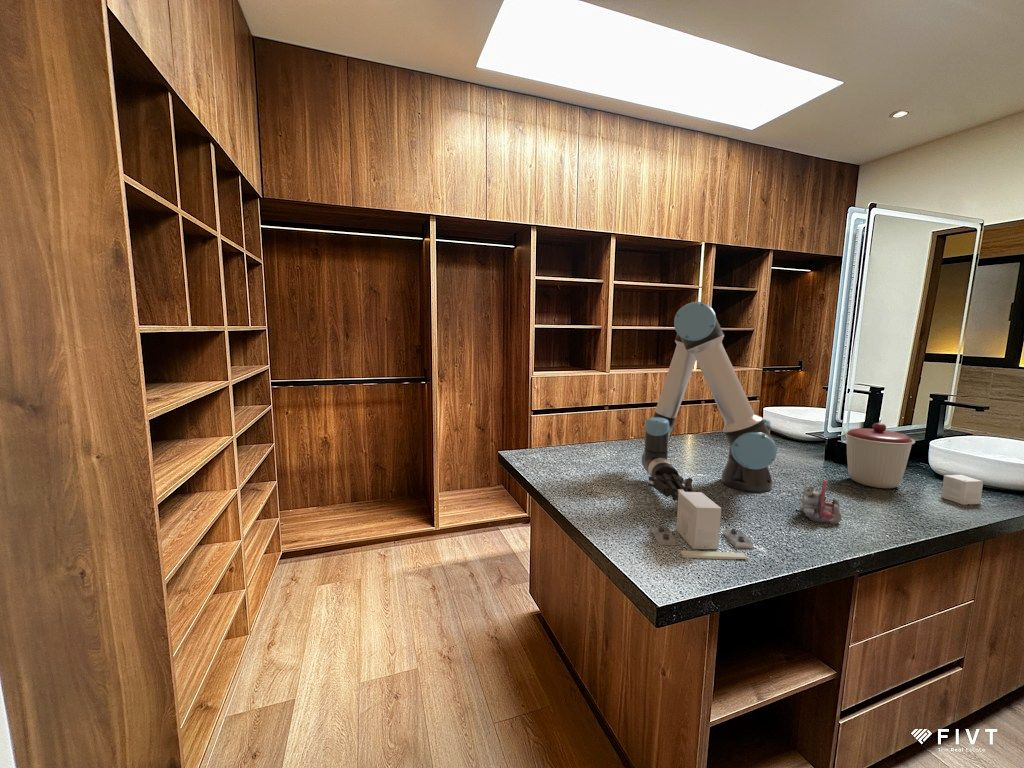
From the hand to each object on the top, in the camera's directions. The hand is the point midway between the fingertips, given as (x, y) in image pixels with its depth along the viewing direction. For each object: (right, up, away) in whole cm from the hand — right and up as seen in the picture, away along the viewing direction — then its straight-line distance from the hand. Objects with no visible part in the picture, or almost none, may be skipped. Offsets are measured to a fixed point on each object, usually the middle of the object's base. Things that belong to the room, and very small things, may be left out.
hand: (687, 503), depth 109 cm
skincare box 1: (0, -8, -5) cm, 9 cm away
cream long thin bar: (0, -9, -13) cm, 15 cm away
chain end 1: (-8, -8, -4) cm, 12 cm away
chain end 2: (+10, -8, -5) cm, 14 cm away
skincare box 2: (+92, -5, +20) cm, 94 cm away
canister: (+78, -3, +35) cm, 85 cm away
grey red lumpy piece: (+40, -6, +8) cm, 41 cm away
